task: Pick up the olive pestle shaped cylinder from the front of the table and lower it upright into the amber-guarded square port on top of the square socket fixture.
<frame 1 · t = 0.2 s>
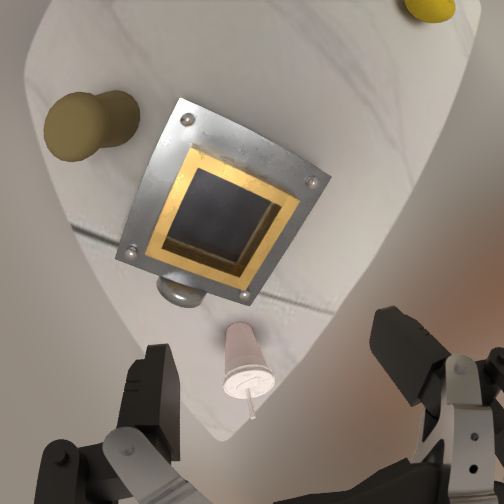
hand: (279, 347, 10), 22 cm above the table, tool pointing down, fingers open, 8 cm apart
olive pestle shaped cylinder: (112, 118, 24), on the table
lemon: (408, 8, 21), on the table
smoothie: (238, 330, 40), on the table
square socket fixture: (216, 202, 30), on the table
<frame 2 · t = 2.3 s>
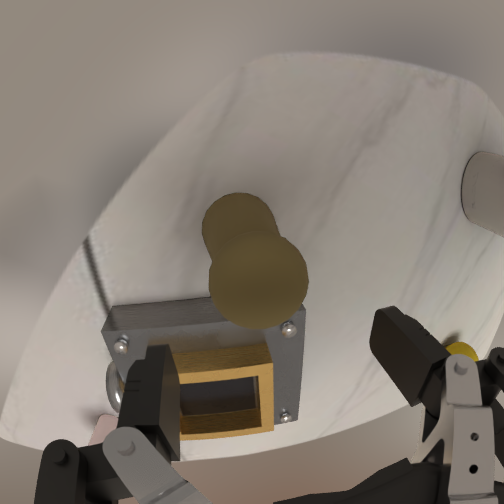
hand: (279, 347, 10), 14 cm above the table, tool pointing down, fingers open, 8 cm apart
olive pestle shaped cylinder: (238, 228, 24), on the table
lemon: (445, 346, 36), on the table
smoothie: (112, 420, 31), on the table
square socket fixture: (211, 362, 28), on the table
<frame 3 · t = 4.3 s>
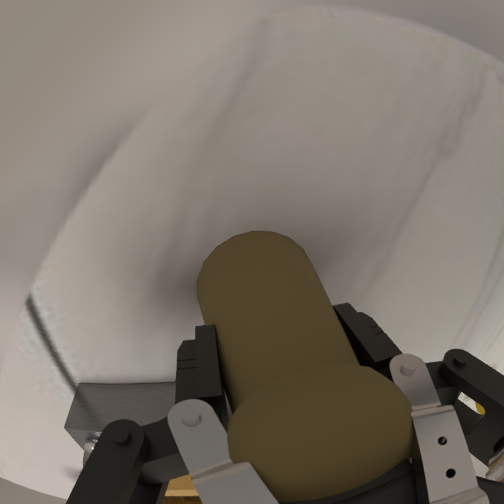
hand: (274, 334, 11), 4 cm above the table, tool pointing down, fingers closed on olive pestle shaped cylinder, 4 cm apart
olive pestle shaped cylinder: (256, 286, 15), on the table, touching gripper
square socket fixture: (217, 441, 19), on the table
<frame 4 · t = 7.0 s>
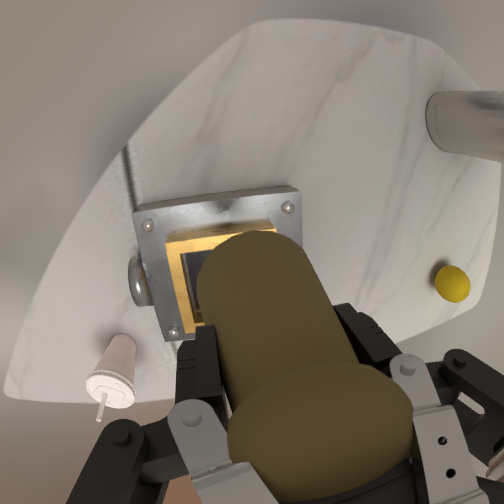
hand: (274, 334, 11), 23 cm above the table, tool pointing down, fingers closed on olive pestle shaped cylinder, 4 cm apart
olive pestle shaped cylinder: (255, 285, 15), point 19 cm above the table, touching gripper
lemon: (437, 272, 41), on the table
smoothie: (124, 343, 37), on the table
square socket fixture: (222, 259, 34), on the table
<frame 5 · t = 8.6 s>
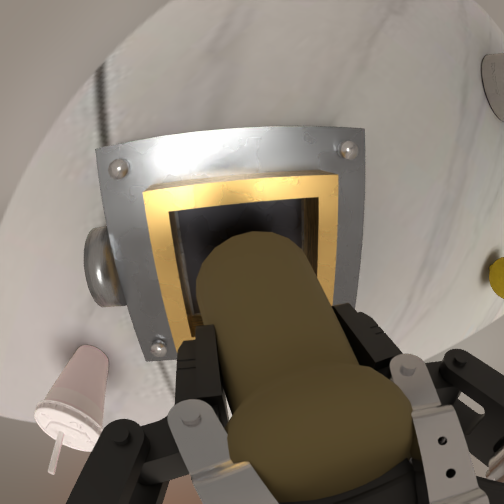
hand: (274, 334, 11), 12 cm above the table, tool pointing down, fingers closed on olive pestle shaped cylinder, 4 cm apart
olive pestle shaped cylinder: (255, 286, 15), point 8 cm above the table, touching gripper
lemon: (488, 266, 30), on the table
smoothie: (93, 357, 24), on the table
square socket fixture: (237, 236, 22), on the table
when the fingers open (9 cm above the table, at t = 9.7 s): olive pestle shaped cylinder drops 1 cm, resting on square socket fixture.
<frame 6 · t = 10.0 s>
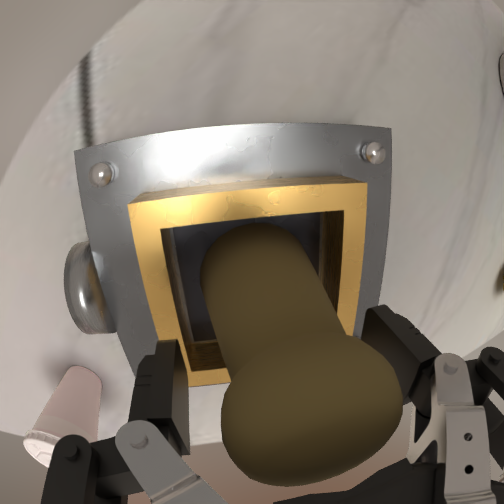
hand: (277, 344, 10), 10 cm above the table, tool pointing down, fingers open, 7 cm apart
olive pestle shaped cylinder: (255, 275, 16), point 4 cm above the table, touching square socket fixture
lemon: (502, 275, 27), on the table
smoothie: (84, 378, 21), on the table
square socket fixture: (242, 251, 19), on the table
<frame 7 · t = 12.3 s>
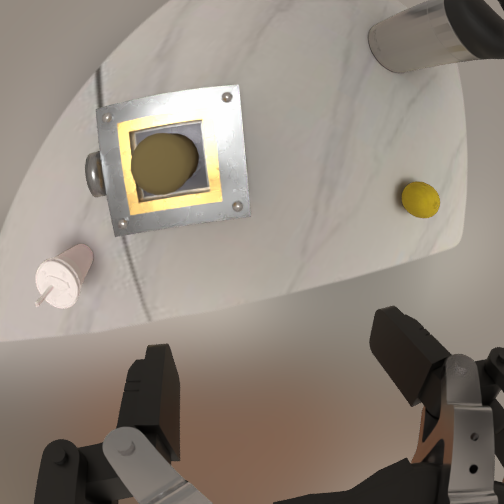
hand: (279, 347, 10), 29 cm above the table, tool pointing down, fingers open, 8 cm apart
olive pestle shaped cylinder: (172, 158, 30), point 4 cm above the table, touching square socket fixture
lemon: (404, 194, 42), on the table
smoothie: (83, 255, 36), on the table
square socket fixture: (174, 158, 34), on the table
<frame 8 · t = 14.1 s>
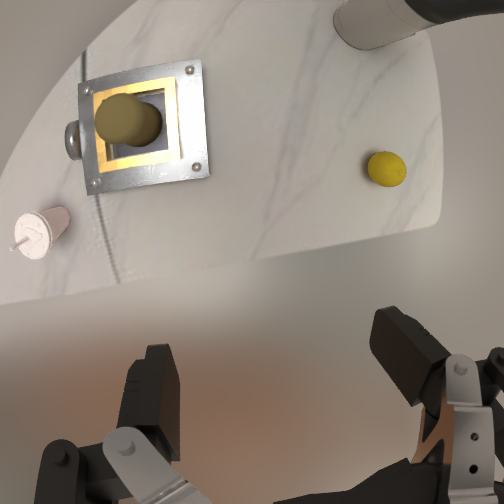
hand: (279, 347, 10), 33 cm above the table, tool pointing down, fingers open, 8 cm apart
olive pestle shaped cylinder: (140, 124, 31), point 4 cm above the table, touching square socket fixture
lemon: (372, 166, 43), on the table
smoothie: (61, 217, 37), on the table
square socket fixture: (144, 127, 35), on the table
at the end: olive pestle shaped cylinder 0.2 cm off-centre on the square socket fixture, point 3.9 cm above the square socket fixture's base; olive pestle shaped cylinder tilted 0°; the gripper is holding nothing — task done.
